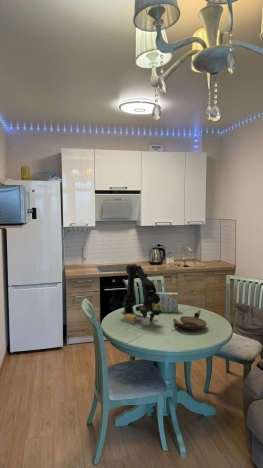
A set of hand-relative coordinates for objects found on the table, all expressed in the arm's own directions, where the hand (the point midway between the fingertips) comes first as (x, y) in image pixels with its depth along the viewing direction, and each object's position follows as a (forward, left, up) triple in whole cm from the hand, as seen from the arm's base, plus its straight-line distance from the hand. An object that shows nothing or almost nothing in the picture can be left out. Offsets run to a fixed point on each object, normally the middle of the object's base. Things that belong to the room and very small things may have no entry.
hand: (148, 322), depth 223 cm
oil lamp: (+27, +15, -2) cm, 31 cm away
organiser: (-7, 0, -2) cm, 8 cm away
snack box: (-6, +34, -2) cm, 35 cm away
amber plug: (-12, -4, 0) cm, 13 cm away
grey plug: (0, 0, 0) cm, 0 cm away
